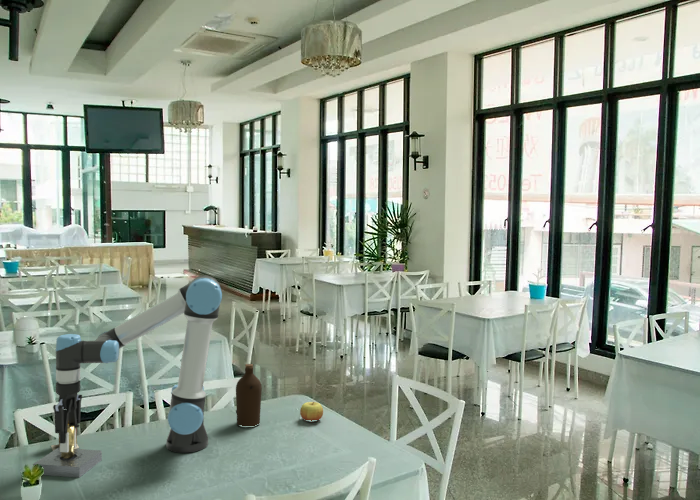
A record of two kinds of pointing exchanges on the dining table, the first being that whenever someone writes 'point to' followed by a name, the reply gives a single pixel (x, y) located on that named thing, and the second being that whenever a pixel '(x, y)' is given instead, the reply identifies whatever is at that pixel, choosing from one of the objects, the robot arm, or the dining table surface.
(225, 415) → the dining table surface
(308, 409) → the apple
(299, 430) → the dining table surface
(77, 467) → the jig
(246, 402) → the olive oil
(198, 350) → the robot arm
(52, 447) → the condiment
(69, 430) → the yellow cylinder
